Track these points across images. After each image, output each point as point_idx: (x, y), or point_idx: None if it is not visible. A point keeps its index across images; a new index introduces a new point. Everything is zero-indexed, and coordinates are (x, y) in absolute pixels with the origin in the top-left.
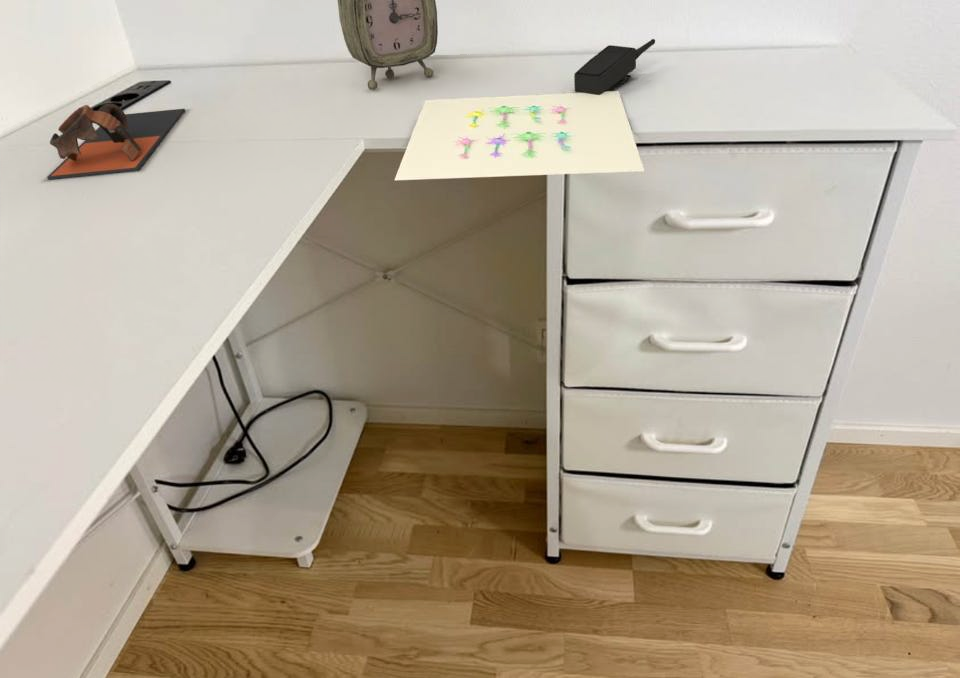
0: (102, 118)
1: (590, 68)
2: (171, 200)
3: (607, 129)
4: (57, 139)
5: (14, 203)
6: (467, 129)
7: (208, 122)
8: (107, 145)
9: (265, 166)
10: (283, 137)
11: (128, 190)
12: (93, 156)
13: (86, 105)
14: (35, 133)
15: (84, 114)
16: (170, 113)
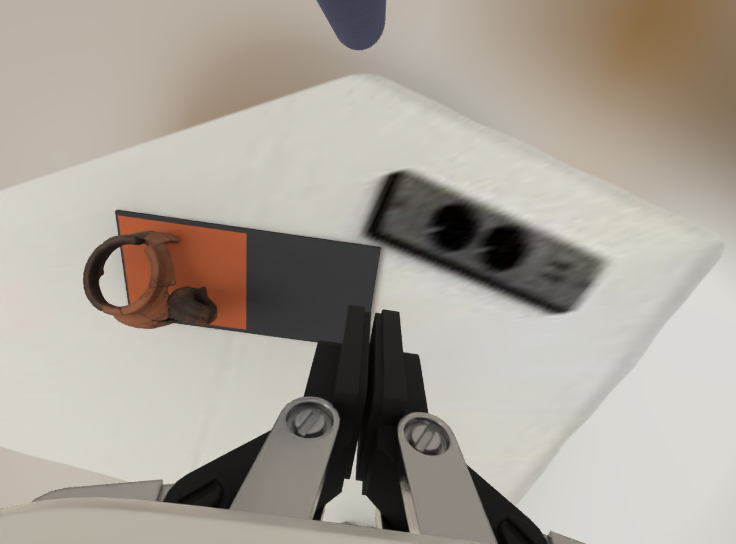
0: (123, 321)
1: None
2: (43, 354)
3: None
4: (89, 259)
5: (41, 185)
6: None
7: (296, 375)
8: (225, 268)
9: (124, 427)
10: (209, 444)
11: (73, 312)
12: (183, 257)
13: (130, 311)
14: (350, 126)
15: (101, 310)
16: None
